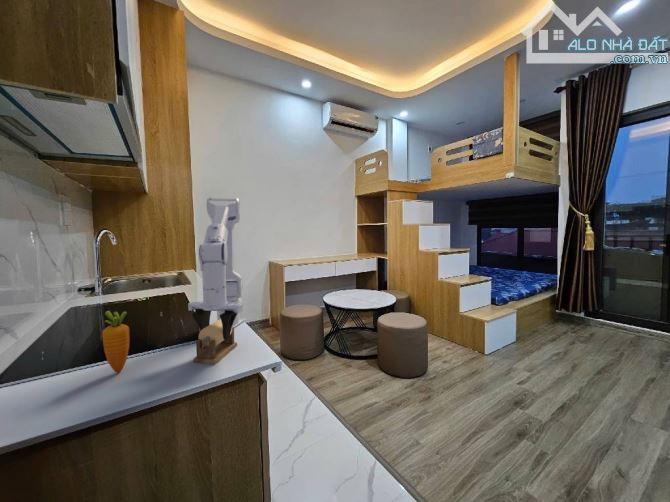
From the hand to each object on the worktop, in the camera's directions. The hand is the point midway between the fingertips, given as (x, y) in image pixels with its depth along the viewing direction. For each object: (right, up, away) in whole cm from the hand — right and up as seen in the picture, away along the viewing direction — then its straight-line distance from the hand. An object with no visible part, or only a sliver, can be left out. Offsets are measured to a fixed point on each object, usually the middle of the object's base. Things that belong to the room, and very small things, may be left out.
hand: (216, 337), depth 76 cm
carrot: (-19, -6, -10) cm, 22 cm away
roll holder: (0, -5, 0) cm, 5 cm away
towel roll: (0, +1, 0) cm, 1 cm away
